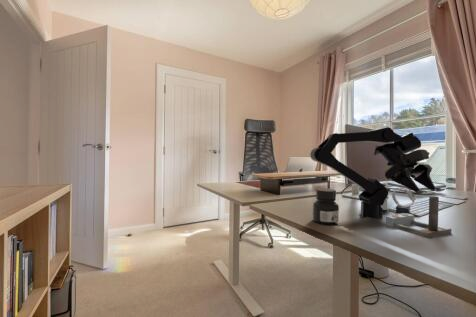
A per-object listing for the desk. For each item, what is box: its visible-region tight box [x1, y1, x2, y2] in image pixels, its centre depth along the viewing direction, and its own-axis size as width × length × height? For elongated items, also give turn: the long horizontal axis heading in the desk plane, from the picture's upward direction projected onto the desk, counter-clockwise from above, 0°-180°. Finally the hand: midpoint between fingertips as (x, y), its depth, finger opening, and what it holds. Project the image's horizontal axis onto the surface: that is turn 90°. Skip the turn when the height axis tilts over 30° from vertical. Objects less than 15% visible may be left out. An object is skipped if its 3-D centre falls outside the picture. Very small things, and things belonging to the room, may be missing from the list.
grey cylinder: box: [420, 195, 443, 233], centre depth 69 cm, size 3×8×11 cm, turn 112°
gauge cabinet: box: [385, 212, 415, 228], centre depth 79 cm, size 2×11×4 cm, turn 112°
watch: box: [391, 187, 417, 214], centre depth 96 cm, size 6×8×11 cm
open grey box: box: [393, 219, 452, 239], centre depth 74 cm, size 13×11×2 cm
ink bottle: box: [312, 187, 340, 226], centre depth 84 cm, size 10×9×12 cm
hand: (426, 190), depth 76 cm, fingers open, 9 cm apart
